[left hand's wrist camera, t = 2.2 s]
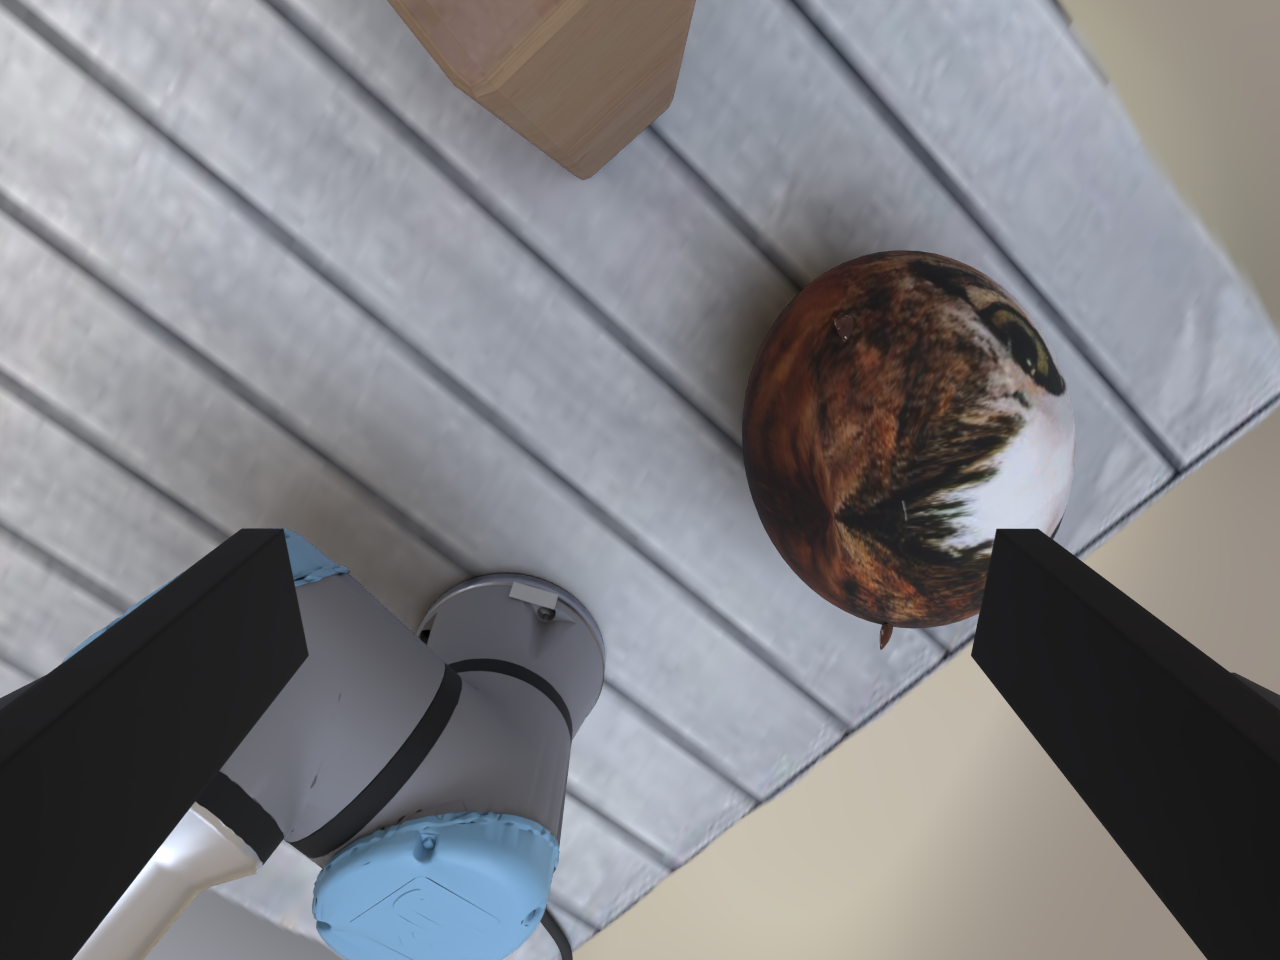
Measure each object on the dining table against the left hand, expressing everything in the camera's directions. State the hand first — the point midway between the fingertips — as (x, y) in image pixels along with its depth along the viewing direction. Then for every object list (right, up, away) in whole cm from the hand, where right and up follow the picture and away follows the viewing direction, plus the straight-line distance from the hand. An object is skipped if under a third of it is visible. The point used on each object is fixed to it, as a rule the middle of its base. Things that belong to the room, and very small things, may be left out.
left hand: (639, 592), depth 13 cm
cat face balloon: (+15, +7, +35) cm, 39 cm away
